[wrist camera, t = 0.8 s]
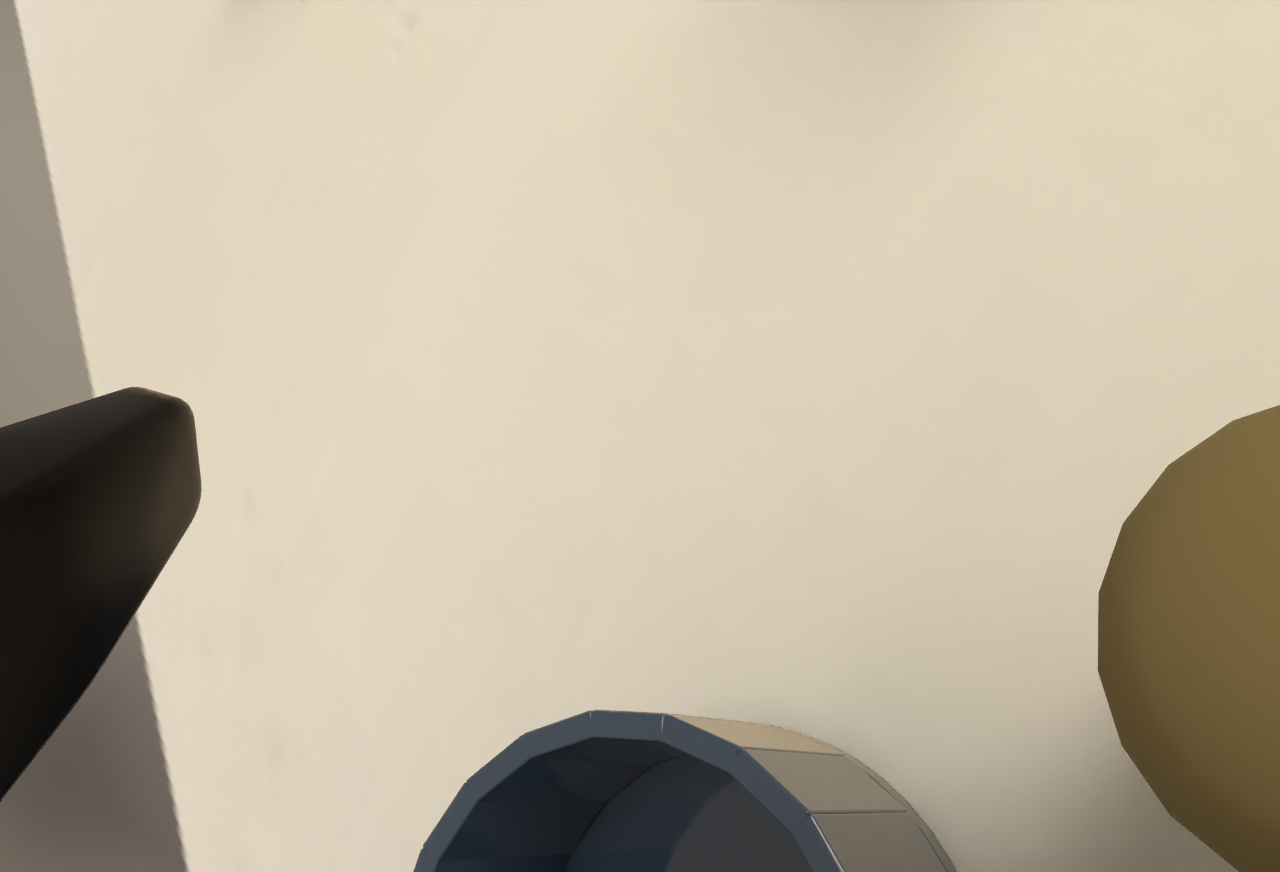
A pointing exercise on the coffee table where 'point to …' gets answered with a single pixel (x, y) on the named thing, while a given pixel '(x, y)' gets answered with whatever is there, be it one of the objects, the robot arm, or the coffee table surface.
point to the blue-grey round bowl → (677, 804)
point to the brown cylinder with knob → (1204, 640)
